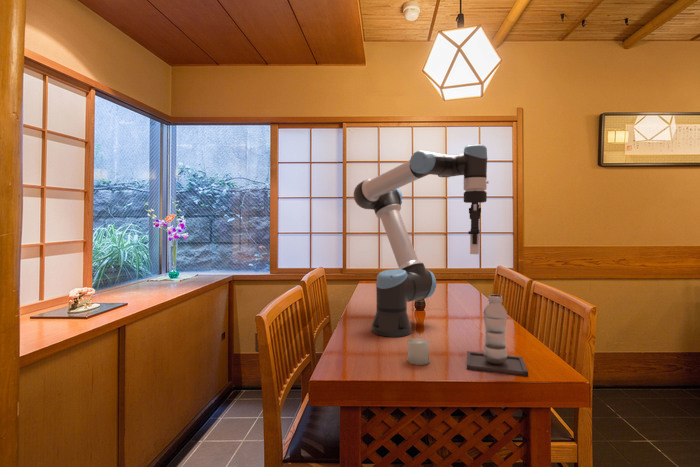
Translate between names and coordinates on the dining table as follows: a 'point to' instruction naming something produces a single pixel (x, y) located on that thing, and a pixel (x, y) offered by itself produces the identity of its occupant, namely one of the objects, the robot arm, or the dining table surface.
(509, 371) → the tray
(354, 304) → the dining table surface
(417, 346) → the white rounded cylinder
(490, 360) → the plastic bottle
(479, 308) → the dining table surface
